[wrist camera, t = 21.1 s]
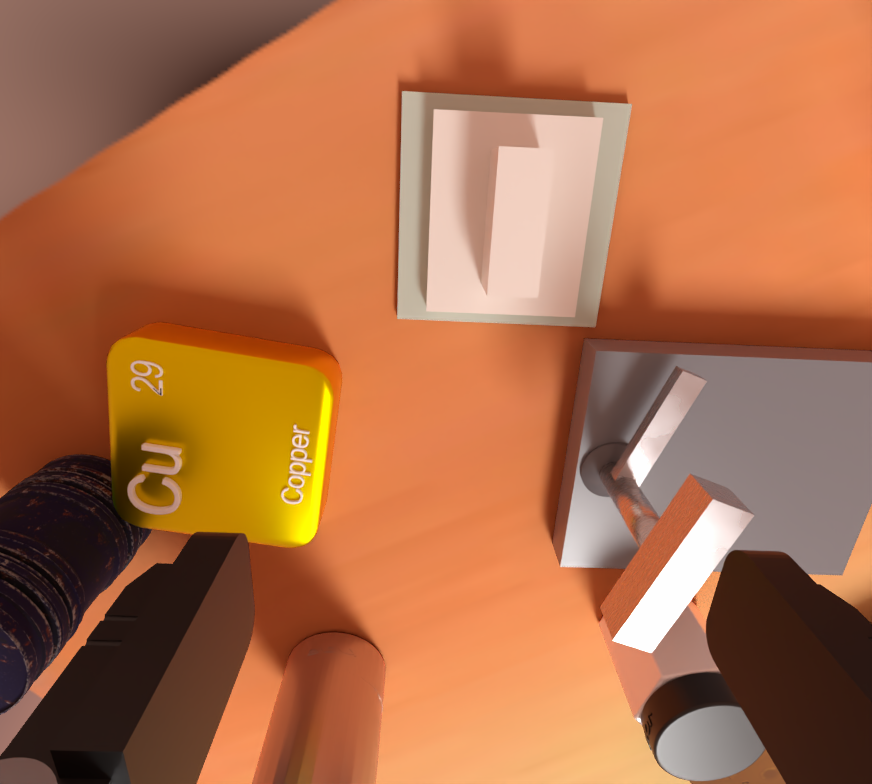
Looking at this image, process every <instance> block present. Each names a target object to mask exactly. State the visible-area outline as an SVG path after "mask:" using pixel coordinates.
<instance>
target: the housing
mask: <svg viewBox="0 0 872 784" xmlns="http://www.w3.org/2000/svg"><path fill="white" fill-rule="evenodd" d="M676 366H678V367H680V368H683V369H685V370H688V371H690V372H692V373H695V374H697V375H699V376H701V377H702V378H704V379H705V380H706V381H707V382H706V384H705V385H704V387H703V388H702V390H701V391H700V393H699V395H698V396H697V398H696V399H695V401H694V402H693V404H692V405H691V407H690V409H689V410H688V412H687V413H686V415H685V416H684V418H683V419H682V421H681V423H680V424H679V426H678V427H677V429H676V430H675V432H674V434H673V435H672V437H671V438H670V440H669V441H668V443H667V444H666V446H665V448H664V449H663V451H662V452H661V454H660V455H659V457H658V458H657V460H656V462H655V463H654V465H653V466H652V468H651V469H650V471H649V472H648V474H647V476H646V477H645V479H644V480H643V482H642V483H641V485H640V489H641V490H642V492H643V493H644V495H645V496H646V498H647V499H648V500H649V502H650V503H651V505H652V506H653V508H654V509H655V511H656V512H657V514H658V515H659V517H661V516H662V514H663V513H664V511H665V510H666V508H667V507H668V505H669V504H670V502H671V501H672V499H673V498H674V496H675V495H676V493H677V492H678V490H679V489H680V487H681V486H682V485H683V483H684V482H685V480H686V479H687V477H688V476H689V474H693V475H696V476H698V477H701V478H703V479H706V480H709V481H711V482H714V483H716V484H719V485H721V486H724V487H727V488H729V489H730V490H731V491H732V492H733V493H734V494H735V495H736V496H737V497H738V498H739V499H740V500H741V501H742V502H743V504H744V505H745V506H746V507H747V508H748V509H749V510H750V511H751V512H752V513H753V514H754V517H753V518H752V519H751V521H750V522H749V523H748V525H747V526H746V527H745V529H744V530H743V531H742V533H741V534H740V535H739V537H738V538H737V539H736V541H735V542H734V543H733V545H732V546H731V547H730V549H729V550H728V551H727V553H726V554H725V555H724V557H723V558H722V559H721V561H720V562H719V563H718V565H717V566H716V567H715V569H714V570H713V571H717V572H721V571H722V568H723V565H724V561H725V559H726V557H727V555H728V554H729V553H730V552H731V551H733V550H757V551H781V552H784V553H786V554H788V555H789V556H790V557H791V558H792V559H793V560H794V561H795V562H796V563H797V564H798V565H799V566H800V567H801V568H802V569H803V570H804V571H805V572H806V573H807V574H818V575H842V574H843V572H844V570H845V567H846V565H847V562H848V560H849V557H850V555H851V553H852V550H853V548H854V545H855V543H856V540H857V538H858V536H859V533H860V531H861V528H862V526H863V524H864V521H865V519H866V516H867V514H868V511H869V509H870V507H871V504H872V351H869V350H846V349H822V348H799V347H776V346H752V345H729V344H705V343H682V342H659V341H635V340H612V339H589V338H584V343H583V349H582V356H581V362H580V368H579V375H578V381H577V388H576V394H575V400H574V407H573V413H572V420H571V426H570V432H569V439H568V445H567V452H566V458H565V464H564V471H563V477H562V484H561V490H560V496H559V503H558V509H557V516H556V522H555V528H554V535H553V541H552V544H553V547H554V550H555V553H556V556H557V559H558V561H559V564H560V567H583V568H617V569H626V567H627V566H628V565H629V563H630V562H631V560H632V559H633V557H634V556H635V554H636V553H637V551H638V550H639V547H638V545H637V543H636V541H635V540H634V538H633V536H632V534H631V533H630V531H629V529H628V527H627V525H626V524H625V522H624V520H623V518H622V517H621V515H620V513H619V511H618V510H617V508H616V506H615V504H614V503H613V501H612V499H611V497H610V496H609V494H608V492H607V490H606V489H605V487H604V485H603V483H602V481H601V480H600V477H599V473H600V470H601V468H602V467H603V466H604V465H605V464H607V463H609V462H612V461H618V460H619V458H620V456H621V455H622V453H623V452H624V450H625V448H626V447H627V445H628V443H629V442H630V440H631V438H632V437H633V435H634V434H635V432H636V430H637V429H638V427H639V425H640V424H641V422H642V421H643V419H644V417H645V416H646V414H647V412H648V411H649V409H650V407H651V406H652V404H653V403H654V401H655V399H656V398H657V396H658V394H659V393H660V391H661V389H662V388H663V386H664V385H665V383H666V381H667V380H668V378H669V376H670V375H671V373H672V371H673V370H674V368H675V367H676Z"/></svg>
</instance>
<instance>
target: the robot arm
mask: <svg viewBox="0 0 872 784" xmlns="http://www.w3.org/2000/svg"><path fill="white" fill-rule="evenodd" d="M254 615H255V605H254V595H253V585H252V575H251V565H250V555H249V545H248V540H247V537H246V535H245V534H244V533H225V532H196V533H194V534H193V535H192V536H191V537H190V539H189V540H188V542H187V543H186V545H185V546H184V548H183V549H182V551H181V552H180V554H179V555H178V557H177V558H176V560H175V561H174V563H173V564H159V563H157V564H155V565H154V566H153V567H151V568H150V569H149V570H147V571H146V572H145V573H143V574H142V575H141V576H139V577H138V578H137V579H135V580H134V581H133V582H131V583H130V584H129V585H127V586H126V587H125V588H124V590H123V591H122V592H121V594H120V595H119V596H118V598H117V599H116V601H115V602H114V603H113V605H112V606H111V607H110V609H109V610H108V611H107V613H106V614H105V619H104V621H100V622H99V624H98V625H97V626H96V628H95V629H94V630H93V632H92V633H91V634H90V636H89V637H88V638H87V643H86V645H85V646H82V647H81V648H80V649H79V651H78V652H77V653H76V655H75V656H74V657H73V659H72V660H71V662H70V663H69V664H68V666H67V667H66V668H65V670H64V671H63V672H62V674H61V675H60V676H59V678H58V679H57V680H56V682H55V683H54V685H53V686H52V687H51V689H50V690H49V691H48V693H47V694H46V695H45V697H44V698H43V699H42V701H41V702H40V704H39V705H38V706H37V708H36V709H35V710H34V712H33V713H32V714H31V716H30V717H29V718H28V720H27V721H26V722H25V724H24V725H23V727H22V728H21V729H20V731H19V732H18V734H17V735H16V736H15V738H14V739H13V740H12V741H11V743H10V744H9V746H8V747H7V748H6V749H5V751H4V752H3V753H2V754H1V756H0V784H196V783H197V781H198V778H199V775H200V773H201V770H202V767H203V765H204V762H205V760H206V757H207V754H208V752H209V749H210V747H211V744H212V741H213V739H214V736H215V733H216V731H217V728H218V726H219V723H220V720H221V718H222V715H223V713H224V710H225V707H226V705H227V702H228V699H229V697H230V694H231V692H232V689H233V686H234V684H235V681H236V679H237V676H238V673H239V671H240V668H241V665H242V663H243V660H244V658H245V655H246V652H247V650H248V647H249V644H250V640H251V636H252V631H253V625H254ZM706 638H707V644H708V648H709V651H710V654H711V656H712V659H713V660H714V662H715V664H716V666H717V667H718V669H719V671H720V673H721V674H722V676H723V678H724V679H725V681H726V683H727V684H728V686H729V688H730V690H731V691H732V693H733V695H734V696H735V698H736V700H737V701H738V703H739V705H740V707H741V708H742V710H743V712H744V713H745V715H746V717H747V718H748V720H749V722H750V723H751V725H752V727H753V729H754V730H755V732H756V734H757V735H758V737H759V739H760V740H761V742H762V744H763V746H764V747H765V749H766V751H767V752H768V754H769V756H770V757H771V759H772V761H773V763H774V764H775V766H776V768H777V769H778V771H779V773H780V774H781V776H782V778H783V780H784V781H785V783H786V784H872V624H871V623H870V622H869V621H868V620H867V619H866V618H865V617H864V616H863V615H862V614H861V613H860V612H859V611H858V610H857V609H856V608H854V607H853V606H851V605H850V604H848V603H847V602H845V601H844V600H842V599H841V598H840V597H838V596H837V595H835V594H834V593H832V592H831V591H829V590H828V589H826V588H825V587H823V586H822V585H820V584H816V583H815V582H814V581H813V580H812V579H811V578H810V577H809V576H808V574H807V573H806V572H805V571H804V570H803V569H802V568H801V567H800V566H799V565H798V564H797V563H796V562H795V561H794V560H793V559H792V558H791V557H790V556H789V555H788V554H786V553H784V552H781V551H757V550H733V551H731V552H730V553H729V554H728V555H727V557H726V559H725V561H724V565H723V568H722V571H721V574H720V578H719V581H718V584H717V587H716V591H715V594H714V597H713V601H712V604H711V607H710V610H709V614H708V617H707V621H706ZM385 668H386V667H385V663H384V660H383V658H382V656H381V654H380V653H379V652H378V650H377V649H376V648H375V647H374V646H373V645H371V644H370V643H368V642H367V641H366V640H363V639H361V638H359V637H357V636H354V635H350V634H346V633H337V632H333V633H322V634H318V635H314V636H312V637H309V638H307V639H305V640H304V641H302V642H301V643H299V644H298V645H297V646H296V647H295V648H294V649H293V650H292V652H291V654H290V656H289V658H288V662H287V665H286V669H285V672H284V675H283V679H282V682H281V686H280V689H279V693H278V695H277V699H276V702H275V706H274V709H273V713H272V716H271V720H270V723H269V726H268V730H267V733H266V737H265V740H264V744H263V747H262V750H261V754H260V757H259V761H258V764H257V768H256V771H255V775H254V778H253V781H252V784H376V774H377V763H378V751H379V740H380V728H381V717H382V708H383V696H384V684H385Z"/></svg>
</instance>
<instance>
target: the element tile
mask: <svg viewBox="0 0 872 784" xmlns="http://www.w3.org/2000/svg"><path fill="white" fill-rule="evenodd" d="M106 367H107V389H108V411H109V433H110V455H111V477H112V499H113V503H114V507H115V509H116V511H117V513H118V515H119V516H120V517H121V518H122V519H123V520H125V521H126V522H129V523H131V524H133V525H135V526H138V527H141V528H148V529H155V530H163V531H170V532H177V533H184V534H191V535H193V534H194V533H196V532H225V533H244V534H245V535H246V537H247V540H248V542H249V543H256V544H263V545H270V546H278V547H285V548H296V547H301V546H305V545H306V544H308V543H310V542H311V541H312V540H313V538H314V537H315V535H316V534H317V531H318V527H319V524H320V521H321V518H322V515H323V511H324V508H325V505H326V502H327V495H328V487H329V480H330V472H331V464H332V456H333V448H334V440H335V433H336V425H337V417H338V409H339V401H340V393H341V386H342V372H341V369H340V366H339V363H338V362H337V361H336V360H335V358H334V357H333V356H332V355H330V354H328V353H327V352H325V351H323V350H320V349H317V348H312V347H306V346H300V345H294V344H288V343H282V342H276V341H270V340H265V339H259V338H253V337H247V336H241V335H235V334H229V333H223V332H217V331H211V330H206V329H200V328H194V327H188V326H182V325H176V324H170V323H164V322H158V323H152V324H148V325H145V326H143V327H141V328H140V329H138V330H136V331H134V332H132V333H130V334H128V335H126V336H124V337H122V338H120V339H119V340H118V341H116V342H115V343H114V344H113V345H112V346H111V348H110V350H109V353H108V355H107V362H106Z"/></svg>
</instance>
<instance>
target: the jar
mask: <svg viewBox="0 0 872 784" xmlns="http://www.w3.org/2000/svg"><path fill="white" fill-rule="evenodd" d="M599 627H600V629H601V632H602V635H603V637H604V640H605V643H606V645H607V648H608V650H609V653H610V656H611V658H612V661H613V664H614V666H615V669H616V672H617V674H618V677H619V679H620V682H621V685H622V687H623V690H624V693H625V695H626V698H627V700H628V703H629V706H630V708H631V711H632V714H633V716H634V718H635V719H636V720H637V721H638V722H639V723H640V724H641V725H642V726H643V729H644V733H645V735H646V736H645V737H646V740H647V742H648V745H649V747H650V750H652V752H653V755H654V757H655V759H656V761H657V763H658V764H659V766H660V767H661V768H662V769H664V770H665V771H666V772H667V773H669V774H671V775H673V776H675V777H677V778H680V779H684V780H690V781H712V780H718V779H722V778H726V777H729V776H732V775H734V774H737V773H739V772H741V771H743V770H744V769H746V768H748V767H749V766H750V765H752V764H753V763H754V762H755V761H756V760H757V759H758V758H759V757H760V756H761V755H762V754H763V752H764V751H765V747H764V746H763V744H762V742H761V740H760V739H759V737H758V735H757V734H756V732H755V730H754V729H753V727H752V725H751V723H750V722H749V720H748V718H747V717H746V715H745V713H744V712H743V710H742V708H741V707H740V705H739V703H738V701H737V700H736V698H735V696H734V695H733V693H732V691H731V690H730V688H729V686H728V684H727V683H726V681H725V679H724V678H723V676H722V674H721V673H720V671H719V669H718V667H717V666H716V664H715V662H714V660H713V659H712V656H711V654H710V651H709V648H708V644H707V638H706V620H705V618H704V616H703V615H702V613H701V612H700V610H699V608H698V607H697V606H696V605H695V604H694V603H693V602H692V601H690V602H689V603H688V605H687V606H686V607H685V609H684V610H683V611H682V613H681V614H680V615H679V617H678V618H677V619H676V621H675V622H674V623H673V625H672V626H671V627H670V629H669V630H668V631H667V633H666V634H665V635H664V637H663V638H662V639H661V641H660V642H659V643H658V645H657V646H656V647H655V649H654V650H653V651H652V653H651V652H647V651H644V650H641V649H638V648H635V647H632V646H629V645H626V644H622V643H619V642H616V641H613V639H612V637H611V634H610V632H609V629H608V627H607V624H606V622H605V619H604V617H602V619H601V620H600V622H599Z"/></svg>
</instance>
